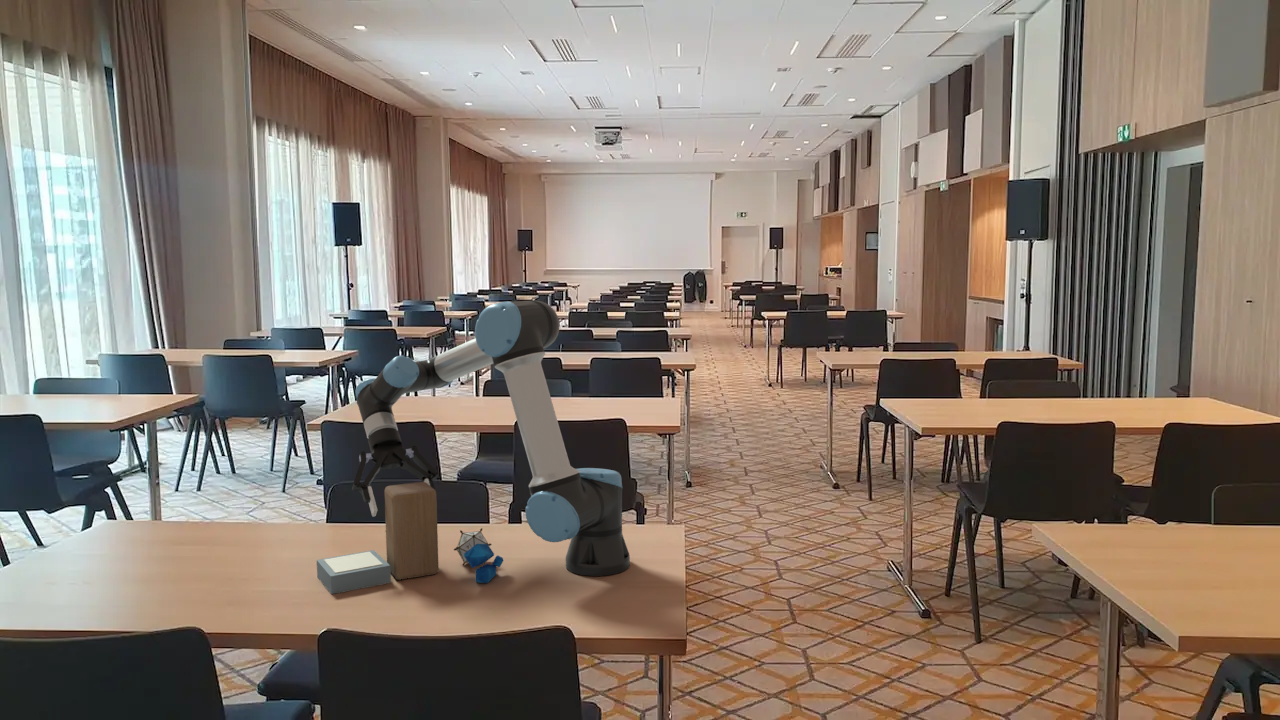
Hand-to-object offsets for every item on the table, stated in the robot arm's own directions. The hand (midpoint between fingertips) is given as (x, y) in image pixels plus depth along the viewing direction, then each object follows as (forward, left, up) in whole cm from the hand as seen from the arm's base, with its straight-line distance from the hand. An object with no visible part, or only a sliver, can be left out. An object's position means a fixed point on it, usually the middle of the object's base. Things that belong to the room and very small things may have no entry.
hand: (404, 509), depth 210 cm
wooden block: (-3, -1, -14) cm, 15 cm away
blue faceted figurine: (-17, -13, -14) cm, 26 cm away
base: (-1, +12, -14) cm, 19 cm away
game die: (-5, -15, -14) cm, 21 cm away
